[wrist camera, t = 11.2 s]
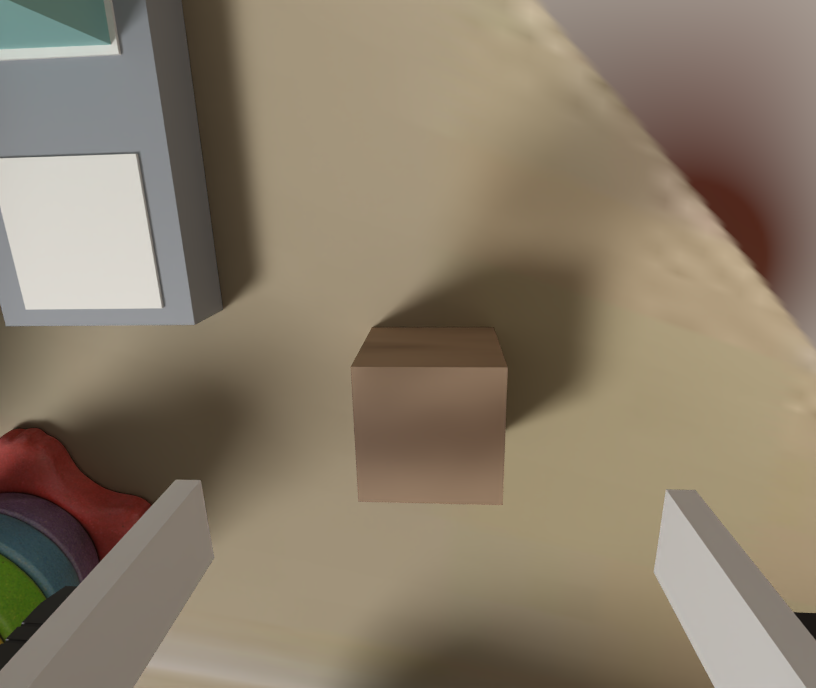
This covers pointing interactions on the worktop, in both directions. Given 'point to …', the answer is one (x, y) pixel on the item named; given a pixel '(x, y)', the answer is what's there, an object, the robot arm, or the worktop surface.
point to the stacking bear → (51, 523)
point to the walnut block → (430, 415)
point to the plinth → (105, 179)
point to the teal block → (52, 23)
